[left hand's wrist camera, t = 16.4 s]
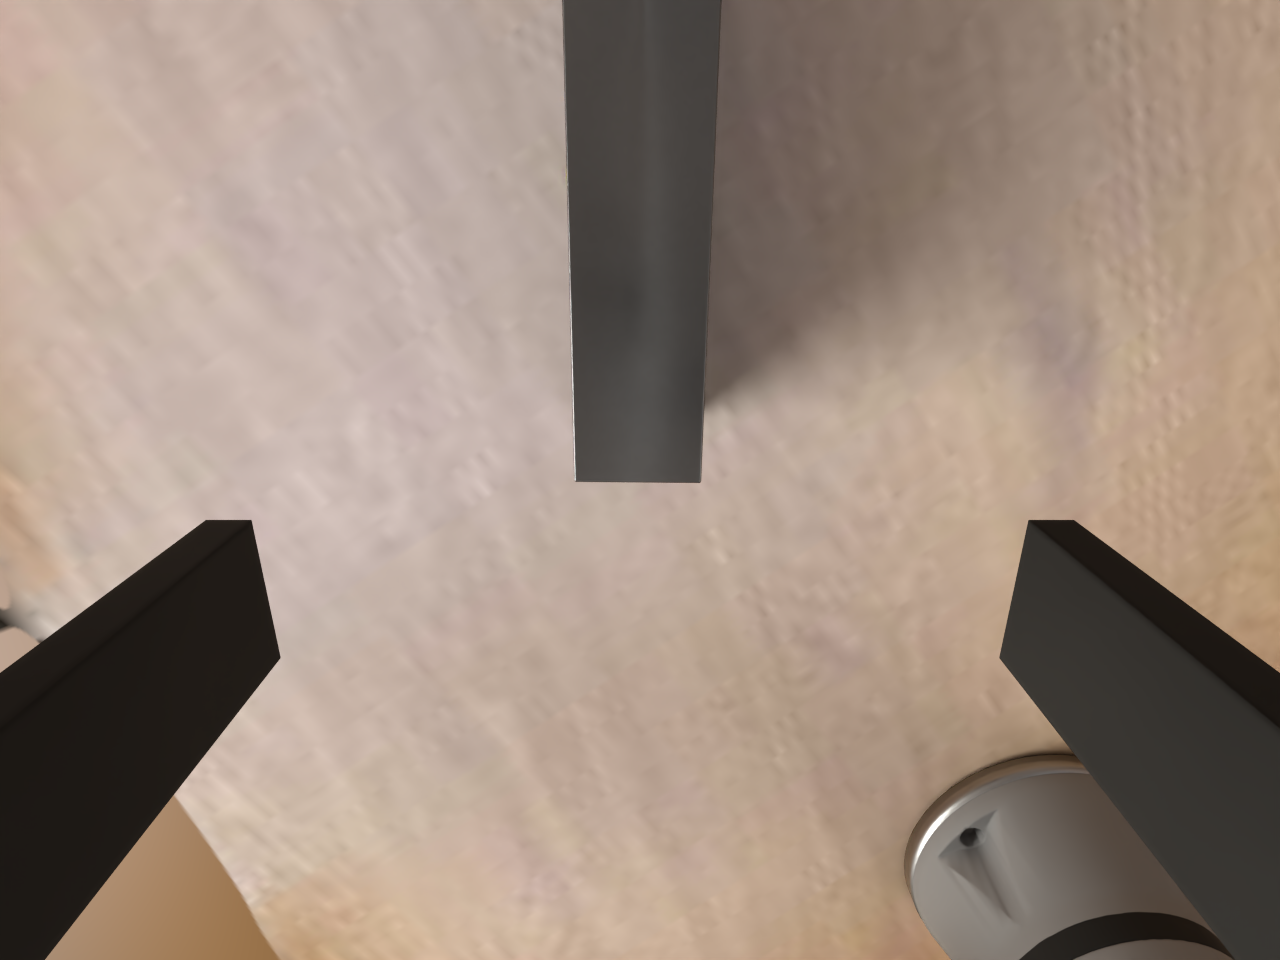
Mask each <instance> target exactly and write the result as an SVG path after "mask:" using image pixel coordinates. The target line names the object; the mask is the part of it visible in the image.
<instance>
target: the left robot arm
mask: <svg viewBox="0 0 1280 960" xmlns="http://www.w3.org/2000/svg"><path fill="white" fill-rule="evenodd" d="M279 659H280V653H279V648H278V643H277V639H276V634H275V629H274V625H273V620H272V615H271V610H270V606H269V601H268V596H267V591H266V587H265V582H264V577H263V573H262V568H261V563H260V558H259V554H258V549H257V544H256V540H255V535H254V530H253V525H252V521H251V520H206V521H204V522H203V523H201V524H200V525H199V526H197V527H196V528H195V529H193V530H192V531H191V532H189V533H188V534H187V535H185V536H184V537H183V538H181V539H180V540H179V541H177V542H176V543H175V544H173V545H172V546H171V547H169V548H168V549H166V550H165V551H164V552H162V553H161V554H160V555H158V556H157V557H156V558H154V559H153V560H152V561H150V562H149V563H148V564H146V565H145V566H144V567H142V568H141V569H140V570H138V571H137V572H136V573H134V574H133V575H131V576H130V577H129V578H127V579H126V580H125V581H123V582H122V583H121V584H119V585H118V586H117V587H115V588H114V589H113V590H111V591H110V592H109V593H107V594H106V595H105V596H103V597H102V598H101V599H99V600H98V601H96V602H95V603H94V604H92V605H91V606H90V607H88V608H87V609H86V610H84V611H83V612H82V613H80V614H79V615H78V616H76V617H75V618H74V619H72V620H71V621H70V622H68V623H67V624H66V625H64V626H63V627H61V628H60V629H59V630H57V631H56V632H55V633H53V634H52V635H51V636H49V637H48V638H47V639H45V640H44V641H43V642H41V643H40V644H39V645H37V646H36V647H35V648H33V649H32V650H31V651H29V652H28V653H27V654H25V655H24V656H22V657H21V658H20V659H18V660H17V661H16V662H14V663H13V664H12V665H10V666H9V667H8V668H6V669H5V670H4V671H2V672H1V673H0V960H45V959H46V958H47V956H48V955H49V954H50V952H51V951H52V950H53V949H54V947H55V946H56V945H57V943H58V942H59V941H60V940H61V938H62V937H63V936H64V934H65V933H66V932H67V931H68V929H69V928H70V927H71V926H72V924H73V923H74V922H75V920H76V919H77V918H78V917H79V915H80V914H81V913H82V911H83V910H84V909H85V908H86V906H87V905H88V904H89V902H90V901H91V900H92V899H93V897H94V896H95V895H96V894H97V892H98V891H99V890H100V888H101V887H102V886H103V885H104V883H105V882H106V881H107V879H108V878H109V877H110V876H111V874H112V873H113V872H114V870H115V869H116V868H117V867H118V865H119V864H120V863H121V862H122V860H123V859H124V858H125V856H126V855H127V854H128V853H129V851H130V850H131V849H132V847H133V846H134V845H135V844H136V842H137V841H138V840H139V838H140V837H141V836H142V835H143V833H144V832H145V831H146V829H147V828H148V827H149V826H150V824H151V823H152V822H153V821H154V819H155V818H156V817H157V815H158V814H159V813H160V812H161V810H162V809H163V808H164V806H165V805H166V804H167V803H168V801H169V800H170V799H171V797H172V796H173V795H174V794H175V792H176V791H177V790H178V789H179V787H180V786H181V785H182V783H183V782H184V781H185V780H186V778H187V777H188V776H189V774H190V773H191V772H192V771H193V769H194V768H195V767H196V765H197V764H198V763H199V762H200V760H201V759H202V758H203V757H204V755H205V754H206V753H207V751H208V750H209V749H210V748H211V746H212V745H213V744H214V742H215V741H216V740H217V739H218V737H219V736H220V735H221V733H222V732H223V731H224V730H225V728H226V727H227V726H228V725H229V723H230V722H231V721H232V719H233V718H234V717H235V716H236V714H237V713H238V712H239V710H240V709H241V708H242V707H243V705H244V704H245V703H246V701H247V700H248V699H249V698H250V696H251V695H252V694H253V693H254V691H255V690H256V689H257V687H258V686H259V685H260V684H261V682H262V681H263V680H264V678H265V677H266V676H267V675H268V673H269V672H270V671H271V669H272V668H273V667H274V666H275V664H276V663H277V662H278V661H279ZM1000 659H1001V661H1002V662H1003V663H1004V664H1005V666H1006V667H1007V668H1008V669H1009V671H1010V672H1011V673H1012V675H1013V676H1014V677H1015V678H1016V680H1017V681H1018V682H1019V684H1020V685H1021V686H1022V687H1023V689H1024V690H1025V691H1026V693H1027V694H1028V695H1029V696H1030V698H1031V699H1032V700H1033V701H1034V703H1035V704H1036V705H1037V707H1038V708H1039V709H1040V710H1041V712H1042V713H1043V714H1044V716H1045V717H1046V718H1047V719H1048V721H1049V722H1050V723H1051V725H1052V726H1053V727H1054V728H1055V730H1056V731H1057V732H1058V733H1059V735H1060V736H1061V737H1062V739H1063V740H1064V741H1065V742H1066V744H1067V745H1068V746H1069V748H1070V749H1071V750H1072V751H1073V753H1074V754H1075V755H1076V756H1070V755H1039V756H1031V757H1024V758H1019V759H1015V760H1010V761H1007V762H1004V763H1000V764H997V765H994V766H992V767H989V768H986V769H984V770H982V771H980V772H978V773H975V774H973V775H971V776H970V777H968V778H966V779H964V780H962V781H961V782H959V783H958V784H956V785H955V786H953V787H952V788H950V789H949V790H948V791H947V792H945V793H944V794H943V795H942V796H941V797H939V798H938V799H937V800H936V801H935V802H934V803H933V804H932V805H931V806H930V807H929V808H928V810H927V811H926V812H925V813H924V814H923V816H922V817H921V818H920V820H919V821H918V823H917V825H916V826H915V828H914V830H913V832H912V834H911V836H910V838H909V842H908V845H907V848H906V853H905V860H904V872H905V878H906V883H907V886H908V889H909V891H910V894H911V896H912V899H913V902H914V904H915V907H916V909H917V912H918V913H919V915H920V917H921V919H922V920H923V922H924V924H925V926H926V927H927V929H928V930H929V932H930V934H931V935H932V936H933V937H934V939H935V940H936V941H937V942H938V944H939V945H940V946H941V947H942V949H943V950H944V951H945V952H946V954H947V955H948V956H949V957H950V959H951V960H1280V673H1279V672H1278V671H1276V670H1275V669H1274V668H1272V667H1271V666H1270V665H1268V664H1267V663H1266V662H1264V661H1263V660H1262V659H1260V658H1259V657H1258V656H1256V655H1255V654H1254V653H1252V652H1251V651H1249V650H1248V649H1247V648H1245V647H1244V646H1243V645H1241V644H1240V643H1239V642H1237V641H1236V640H1235V639H1233V638H1232V637H1231V636H1229V635H1228V634H1227V633H1225V632H1224V631H1223V630H1221V629H1220V628H1219V627H1217V626H1216V625H1214V624H1213V623H1212V622H1210V621H1209V620H1208V619H1206V618H1205V617H1204V616H1202V615H1201V614H1200V613H1198V612H1197V611H1196V610H1194V609H1193V608H1192V607H1190V606H1189V605H1188V604H1186V603H1185V602H1184V601H1182V600H1181V599H1179V598H1178V597H1177V596H1175V595H1174V594H1173V593H1171V592H1170V591H1169V590H1167V589H1166V588H1165V587H1163V586H1162V585H1161V584H1159V583H1158V582H1157V581H1155V580H1154V579H1153V578H1151V577H1150V576H1149V575H1147V574H1146V573H1144V572H1143V571H1142V570H1140V569H1139V568H1138V567H1136V566H1135V565H1134V564H1132V563H1131V562H1130V561H1128V560H1127V559H1126V558H1124V557H1123V556H1122V555H1120V554H1119V553H1118V552H1116V551H1115V550H1114V549H1112V548H1111V547H1109V546H1108V545H1107V544H1105V543H1104V542H1103V541H1101V540H1100V539H1099V538H1097V537H1096V536H1095V535H1093V534H1092V533H1091V532H1089V531H1088V530H1087V529H1085V528H1084V527H1083V526H1081V525H1080V524H1079V523H1077V522H1076V521H1074V520H1029V521H1028V525H1027V530H1026V535H1025V540H1024V544H1023V549H1022V554H1021V558H1020V563H1019V568H1018V573H1017V577H1016V582H1015V587H1014V591H1013V596H1012V601H1011V606H1010V610H1009V615H1008V620H1007V625H1006V629H1005V634H1004V639H1003V643H1002V648H1001V653H1000Z"/></svg>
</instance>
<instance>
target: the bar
mask: <svg viewBox="0 0 1280 960" xmlns="http://www.w3.org/2000/svg"><path fill="white" fill-rule="evenodd" d="M562 7H563V47H564V87H565V127H566V167H567V206H568V246H569V286H570V326H571V366H572V406H573V446H574V480H575V482H662V483H700V482H701V470H702V446H703V423H704V399H705V376H706V352H707V329H708V305H709V282H710V258H711V235H712V211H713V188H714V164H715V141H716V117H717V94H718V70H719V47H720V23H721V0H562Z"/></svg>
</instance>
